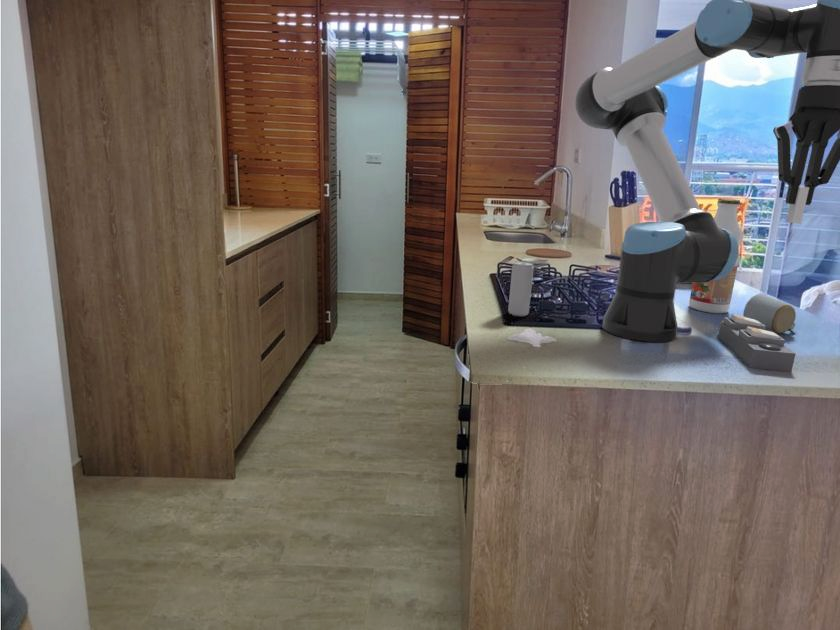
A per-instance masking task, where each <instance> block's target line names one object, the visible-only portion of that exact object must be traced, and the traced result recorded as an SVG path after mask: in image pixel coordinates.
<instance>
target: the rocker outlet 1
mask: <svg viewBox="0 0 840 630" xmlns="http://www.w3.org/2000/svg"><path fill="white" fill-rule="evenodd" d="M729 318H731V319H732V320H733V321H734V322H737V323H741V324H751V325H761V323H759V322H758V321H756V320H755V319H751V318H747V317H743V316H742V315H738V314H735V313H731V315H730V317H729Z"/></svg>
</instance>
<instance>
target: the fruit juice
mask: <svg viewBox="0 0 840 630" xmlns="http://www.w3.org/2000/svg"><path fill="white" fill-rule="evenodd" d="M740 205H741V200H740V199H735V198H734V199H733V198H721V197H720V198H718V199H717V210H716V213H715V215H714V217H713V218H714V220H715V222H716V225H717V227H718V228H722V229H725V230H727V231H729V232H731V233H732V234H733V235H734V236H735V238H736V240H737V242H738V247H739V248H740V245H741V243H742V242H743V240H744V239H743V238H744V232H743V229H742V228H741V226H740V224H739V221H738V208H739V207H740ZM739 261H740V253H739V254H738V259H737V260H736V262H735V266H734V268H733V269H732V271H731V272H730V273H729V274H728V275H727V276H725V277H724V278H722V279H720V280H717V281H710V282H707V283H691V284H692V285H691V291H690V297H689V301H688V305H689V307H690V308H691V309H693V310H697V311H699V312H703V313H711V314H725V313H728V312H729V309H730V305H731V300H732V297H733V291H734V287H735V281H736V277H737V272H738V266H739V263H740V262H739Z"/></svg>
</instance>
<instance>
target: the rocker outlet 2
mask: <svg viewBox="0 0 840 630" xmlns="http://www.w3.org/2000/svg"><path fill="white" fill-rule="evenodd" d="M746 332H747V333H749V334H750V335H751V336H755V337H763V338H773V339H779V336H780V335H779V334H777V335H776V334H775V333H774V332H771V331H766V330H762V329H757V328H753V327H748V326H747V328H746ZM778 335H779V336H778Z"/></svg>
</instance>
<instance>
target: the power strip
mask: <svg viewBox="0 0 840 630" xmlns="http://www.w3.org/2000/svg"><path fill="white" fill-rule="evenodd" d="M723 319H724V320H720V324H719V329H718V333H717V337H718V338H719V339H720V340H721V341H722V342H723V343H724V344H725V345H726V346H728V348H730V349H731V351H733V353H735V355H737V357H739V358H740V359H741V360H742V362H744V363H745V364H746V365H747V366H748V367H749V368H753V369H762V370H770V371H771V370H772V371H781V372H790V373H791V372H792V371H793V367H794V362H795V359H796V358H795V357H796V352H795V351H793V350H791V349H790V348H788V347H787V346H786V345H785V343H786V342H785V341H786V339H784V338H783V337H781V336H780V335H779V334H776V333H775V334H776V335H778V336H779V339H773V338H763V337H755V336H751V335H750V334H749V333H747V332H746V328H747V326H748V327H753V328H757V329H762V330H765V328H766V326H765V325H763V324H762V323H761V322H759V321H758V320H756V321H758V322H759V323H761V325H751V324H741V323H737V322H734V321H733V320H732V319H731V318H730V317H728V316H727V317H726V316H725V317H724V318H723Z"/></svg>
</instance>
